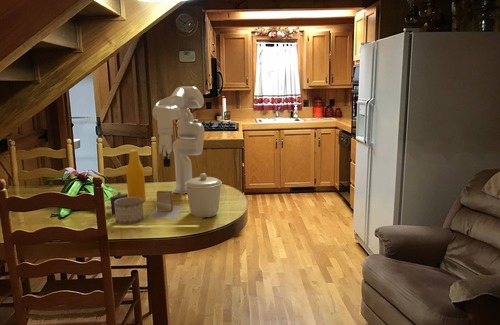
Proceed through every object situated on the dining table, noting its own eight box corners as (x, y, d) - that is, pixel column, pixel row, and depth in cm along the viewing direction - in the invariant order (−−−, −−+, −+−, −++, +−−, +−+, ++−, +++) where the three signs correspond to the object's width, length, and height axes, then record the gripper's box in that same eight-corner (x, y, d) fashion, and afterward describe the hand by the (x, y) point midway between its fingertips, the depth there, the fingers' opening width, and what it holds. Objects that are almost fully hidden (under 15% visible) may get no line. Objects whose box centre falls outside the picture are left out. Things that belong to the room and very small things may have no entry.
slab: (159, 209, 205) (157, 190, 203) (172, 209, 204) (171, 190, 202) (157, 211, 201) (156, 192, 199) (171, 211, 201) (170, 192, 199)
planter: (144, 224, 186) (142, 203, 184) (115, 227, 183) (113, 205, 181) (143, 216, 198) (141, 195, 196) (116, 218, 195) (114, 198, 193)
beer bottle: (128, 201, 223) (124, 149, 217) (145, 199, 226) (142, 148, 220) (128, 206, 214) (124, 152, 209) (146, 204, 217) (143, 151, 211)
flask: (127, 209, 209) (125, 189, 207) (130, 210, 207) (128, 190, 205) (110, 214, 202) (109, 193, 200) (113, 215, 200) (112, 194, 198)
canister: (179, 218, 194) (177, 176, 190) (197, 207, 211) (195, 168, 207) (212, 222, 188) (211, 179, 184) (228, 211, 204) (227, 170, 200)
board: (157, 207, 211) (157, 205, 211) (183, 207, 211) (183, 205, 211) (147, 220, 192) (147, 218, 191) (176, 220, 191) (176, 218, 191)
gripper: (161, 129, 212) (163, 163, 216) (154, 132, 198) (156, 169, 201) (175, 129, 212) (177, 163, 216) (169, 132, 198) (171, 169, 201)
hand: (167, 166), depth 208 cm, fingers closed
